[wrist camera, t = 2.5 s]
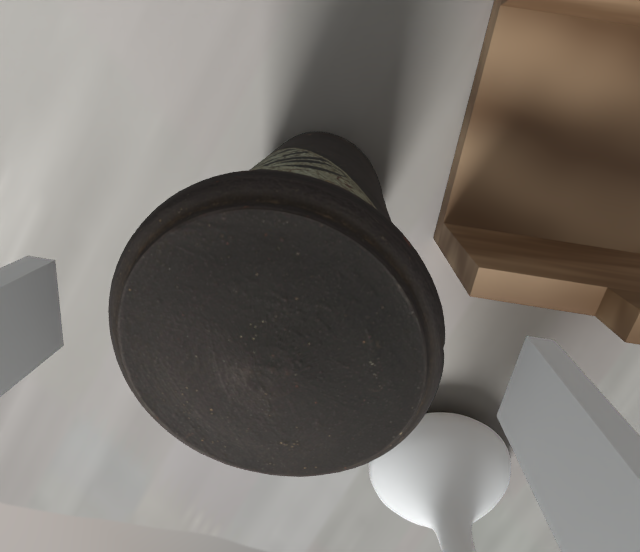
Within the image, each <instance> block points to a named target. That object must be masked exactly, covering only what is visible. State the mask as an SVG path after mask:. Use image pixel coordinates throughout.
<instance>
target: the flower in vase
mask: <svg viewBox="0 0 640 552" xmlns="http://www.w3.org/2000/svg"><path fill="white" fill-rule="evenodd" d="M510 474H511V460H510V454H509V451H508V449H507V447H506V445H505V443H504V441H503V440H502V439H501V437H500V436H499V435H498V434H497V433H496V432H495V431H494V430H492V429H491V428H490V427H488V426H487V425H485V424H483V423H481V422H479V421H477V420H475V419H472V418H470V417H467V416H464V415H460V414H455V413H446V412H434V413H426V414H425V415H424V417H423V418H422V420H421V421H420V423H419V424H418V425H417V426H416V428H415V429H414V430H413V431H412V432H411V433H410V434H409V435H408V436H407V437H406V438H405V439H404V440H403V441H402V442H401V443H399V444H398V445H397V446H396V447H394V448H393V449H392V450H390V451H389V452H387V453H385V454H384V455H382V456H381V457H379V458H377V459H375V460H373V461H371V462H369V476H370V479H371V483H372V485H373V487H374V489H375V491H376V493H377V494H378V496H379V497H380V499H381V500H382V502H383V503H384V504H385V505H386V506H387V507H388V508H390V509H391V510H392V511H394V512H395V513H397V514H398V515H400V516H401V517H403V518H405V519H406V520H408V521H410V522H413V523H416V524H418V525H422V526H425V527H429V528H432V529H433V530H434V531H435V533H436V535H437V538H438V540H439V543H440V547H441V551H442V552H476V550H475V546H474V542H473V537H472V524H473V522H475V521H477V520H478V519H480V518H481V517H483V516H484V515H486V514H487V513H488V512H489V511H491V510H492V509H493V508H494V506H495V505H496V504H497V503H498V502H499V500H500V499H501V498H502V496H503V495H504V493H505V492H506V490H507V487H508V485H509V481H510Z"/></svg>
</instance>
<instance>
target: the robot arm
mask: <svg viewBox="0 0 640 552" xmlns="http://www.w3.org/2000/svg"><path fill="white" fill-rule="evenodd" d="M62 346H64V344H63V334H62V324H61V314H60V304H59V294H58V284H57V274H56V264H55V260H51V259H45V258H39V257H33V256H26V257H24V258H22V259H20V260H17V261H15V262H13V263H11V264H8V265H6V266H4V267H2V268H0V397H1V396H2V395H3V394H4V393H6V392H7V391H8V390H9V389H11V388H12V387H13V386H14V385H15V384H17V383H18V382H19V381H20V380H22V379H23V378H24V377H25V376H27V375H28V374H29V373H30V372H31V371H33V370H34V369H35V368H36V367H38V366H39V365H40V364H41V363H43V362H44V361H45V360H46V359H48V358H49V357H50V356H51V355H52V354H54V353H55V352H56V351H57V350H59V349H60V348H61V347H62ZM497 418H498V420H499V422H500V424H501V426H502V428H503V431H504V433H505V435H506V437H507V439H508V441H509V443H510V445H511V447H512V449H513V452H514V454H515V456H516V458H517V460H518V462H519V464H520V466H521V468H522V470H523V473H524V475H525V477H526V479H527V481H528V483H529V485H530V487H531V489H532V491H533V494H534V496H535V498H536V500H537V502H538V504H539V506H540V508H541V510H542V512H543V515H544V517H545V519H546V521H547V523H548V525H549V527H550V529H551V531H552V533H553V536H554V538H555V540H556V542H557V544H558V546H559V548H560V550H561V552H640V436H639V434H638V433H637V432H636V431H635V430H634V429H633V428H632V427H631V425H630V424H629V423H628V422H627V421H626V420H625V419H624V418H623V416H622V415H621V414H620V413H619V412H618V411H617V410H616V409H615V407H614V406H613V405H612V404H611V403H610V402H609V401H608V400H607V398H606V397H605V396H604V395H603V394H602V393H601V392H600V391H599V389H598V388H597V387H596V386H595V385H594V384H593V383H592V382H591V380H590V379H589V378H588V377H587V376H586V375H585V374H584V373H583V371H582V370H581V369H580V368H579V367H578V366H577V365H576V364H575V362H574V361H573V360H572V359H571V358H570V357H569V356H568V355H567V353H566V352H565V351H564V350H563V349H562V348H561V347H560V346H559V344H558V343H557V342H556V341H555V340H552V339H545V338H539V337H533V336H526V338H525V341H524V344H523V346H522V349H521V352H520V354H519V357H518V360H517V362H516V365H515V368H514V370H513V373H512V376H511V378H510V381H509V384H508V386H507V389H506V392H505V394H504V397H503V400H502V402H501V405H500V408H499V410H498V413H497Z"/></svg>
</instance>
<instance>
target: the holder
mask: <svg viewBox="0 0 640 552" xmlns="http://www.w3.org/2000/svg"><path fill="white" fill-rule="evenodd" d="M434 240H435V242H436V243H437V245H438V246H439V248H440V250H441V251H442V253H443V254H444V256H445V258H446V259H447V261H448V262H449V264H450V266H451V267H452V269H453V270H454V272H455V274H456V275H457V277H458V278H459V280H460V281H461V283H462V285H463V286H464V288H465V289H466V291H467V293H468V294H469V296H471V297H478V298H484V299H490V300H497V301H503V302H509V303H516V304H522V305H528V306H535V307H541V308H548V309H554V310H560V311H567V312H573V313H579V314H586V315H592V316H595V317H597V318H598V319H599V320H600V321H601V322H602V323H604V324H605V325H606V326H607V327H608V328H609V329H611V330H612V331H613V332H614V333H615V334H616V335H618V336H619V337H620V338H621V339H622V340H623V341H625V342H627V343H634V344H640V0H494V4H493V8H492V12H491V16H490V19H489V23H488V27H487V31H486V35H485V39H484V43H483V47H482V51H481V54H480V58H479V62H478V66H477V70H476V74H475V78H474V82H473V86H472V90H471V93H470V97H469V101H468V105H467V109H466V113H465V117H464V121H463V125H462V128H461V132H460V136H459V140H458V144H457V148H456V152H455V156H454V160H453V164H452V167H451V171H450V175H449V179H448V183H447V187H446V191H445V195H444V199H443V202H442V206H441V210H440V214H439V218H438V222H437V226H436V230H435V234H434Z"/></svg>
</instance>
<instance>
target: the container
mask: <svg viewBox="0 0 640 552" xmlns="http://www.w3.org/2000/svg"><path fill="white" fill-rule="evenodd" d="M109 326H110V335H111V340H112V344H113V348H114V352H115V355H116V359H117V362H118V364H119V367H120V369H121V371H122V373H123V376H124V378H125V380H126V382H127V384H128V385H129V387H130V389H131V390H132V392H133V393H134V395H135V396H136V398H137V399H138V401H139V402H140V403H141V405H142V406H143V407H144V408H145V410H146V411H147V412H148V413H149V414H150V415H151V416H152V417H153V418H154V419H155V420H156V421H157V422H158V423H159V424H160V425H161V426H162V427H163V428H164V429H166V430H167V431H168V432H169V433H170V434H172V435H173V436H174V437H176V438H177V439H178V440H180V441H181V442H183V443H184V444H186V445H187V446H189V447H191V448H192V449H194V450H196V451H198V452H199V453H201V454H203V455H206V456H208V457H210V458H212V459H215V460H217V461H220V462H222V463H224V464H227V465H230V466H233V467H237V468H241V469H245V470H249V471H254V472H259V473H264V474H269V475H278V476H297V477H304V476H317V475H324V474H331V473H336V472H341V471H345V470H349V469H352V468H356V467H359V466H361V465H364V464H366V463H369V462H371V461H373V460H375V459H377V458H379V457H381V456H382V455H384V454H385V453H387V452H389V451H390V450H392V449H393V448H394V447H396V446H397V445H398V444H399V443H401V442H402V441H403V440H404V439H405V438H406V437H407V436H408V435H409V434H410V433H411V432H412V431H413V430H414V429H415V428H416V426H417V425H418V424H419V423H420V421H421V420H422V418H423V417H424V415H425V414H426V412H427V410H428V409H429V407H430V405H431V403H432V401H433V399H434V397H435V394H436V392H437V389H438V386H439V383H440V380H441V377H442V372H443V366H444V350H443V347H444V344H445V325H444V316H443V310H442V305H441V302H440V299H439V296H438V293H437V290H436V287H435V285H434V282H433V280H432V278H431V276H430V274H429V272H428V270H427V268H426V266H425V264H424V263H423V261H422V259H421V258H420V256H419V255H418V253H417V251H416V250H415V249H414V247H413V246H412V245H411V243H410V242H409V241H408V240H407V238H406V237H405V236H404V235H403V234H402V232H401V231H400V230H399V229H398V228H397V227H396V226H395V225H394V224H393V223H392V222H391V219H390V217H389V214H388V211H387V208H386V205H385V201H384V198H383V195H382V191H381V187H380V183H379V180H378V178H377V175H376V173H375V171H374V169H373V167H372V165H371V163H370V162H369V160H368V159H367V158H366V156H365V155H364V154H363V153H362V152H361V151H360V150H359V149H358V148H357V147H356V146H355V145H353V144H352V143H350V142H349V141H347V140H345V139H344V138H342V137H339V136H337V135H334V134H330V133H325V132H308V133H304V134H300V135H298V136H296V137H293V138H292V139H290V140H288V141H287V142H285V143H284V144H283V145H281V146H280V147H279V148H278V149H276V150H275V151H274V152H273V153H271V154H270V155H269V156H267V157H266V158H265V159H264V160H262V161H261V162H259V163H258V164H257V165H256V166H254V167H253V168H252V169H250V170H249V171H240V172H232V173H227V174H223V175H219V176H215V177H212V178H209V179H206V180H203V181H200V182H198V183H196V184H194V185H191V186H189V187H187V188H185V189H183V190H181V191H179V192H178V193H176V194H175V195H173V196H172V197H170V198H169V199H167V200H166V201H165V202H164V203H162V204H161V205H160V206H158V207H157V208H156V209H155V210H154V211H153V212H152V213H151V214H150V215H149V216H148V217H147V218H146V219H145V220H144V222H143V223H141V225H140V226H139V228H138V229H137V230H136V232H135V233H134V234H133V235H132V237H131V239H130V240H129V242H128V243H127V245H126V247H125V249H124V251H123V253H122V254H121V257H120V259H119V261H118V264H117V266H116V270H115V273H114V276H113V279H112V284H111V290H110V297H109Z"/></svg>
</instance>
